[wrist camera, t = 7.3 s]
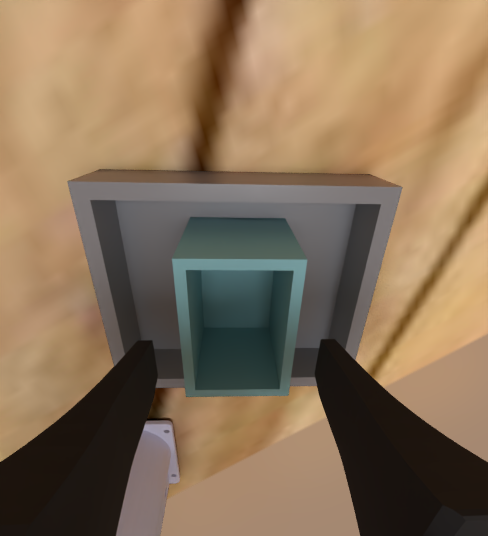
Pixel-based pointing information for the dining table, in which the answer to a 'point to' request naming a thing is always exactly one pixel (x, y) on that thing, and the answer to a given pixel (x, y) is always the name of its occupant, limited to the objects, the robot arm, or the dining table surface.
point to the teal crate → (238, 305)
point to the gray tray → (231, 206)
